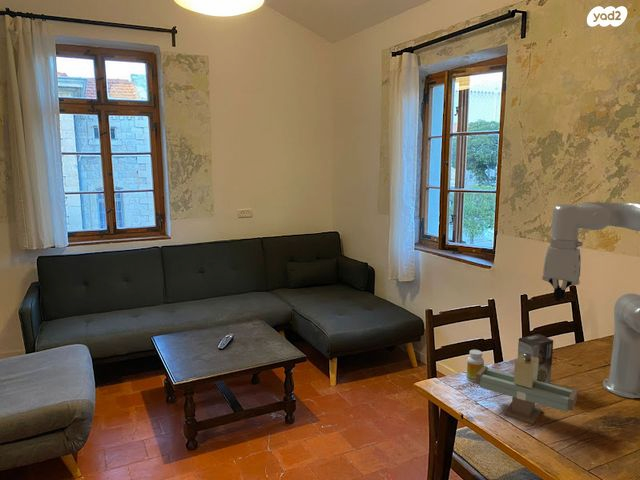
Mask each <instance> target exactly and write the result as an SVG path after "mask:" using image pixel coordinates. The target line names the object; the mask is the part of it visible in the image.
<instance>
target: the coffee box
mask: <svg viewBox="0 0 640 480" xmlns="http://www.w3.org/2000/svg"><path fill="white" fill-rule="evenodd" d="M517 346H518V347H517V358H518V357H519V356H520V354H524V353H530V354H531V356H532V357H536V358H539V362H538V375H537V381H540V382H543V383H547V384H551V378H552V377H551V376H552V365H553V353H554V351H553V349H554V339H551V338H549V337H547V336H545V335H542V334H539V333H536V334H533V335H528V336H523V337H519V338H518V345H517Z"/></svg>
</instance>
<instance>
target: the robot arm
mask: <svg viewBox="0 0 640 480" xmlns="http://www.w3.org/2000/svg"><path fill="white" fill-rule="evenodd" d="M552 210H553V211H552V219H551V220H552V222H551V231H550V232H551V233H550V234H551V235H550V245H549V246H548V247H547V249H546V253H545V257H544V263H543V269H542V270H543V271H542V278H541V279H542V281H545V282H548V283H549V284H550V285H551V286H552V287H553V298H554V299H555V302H562V301H563V299H565V297H566V289H567V288H569V287H571V286H579V285H580V283H581V282H580V276H581V259H582V258H581V249H580V248H578V247H583V244H584V242H582V241H579V231H580V229H583V230H592V231H601V230H603V229H605V228H607V227H617V228H624V229H628V230H631V231H636V232H637V231H638V232H640V202H631V203H630V202H604V201H603V202H598V201H597V202H596V201H593V202H591V201H586V202H582V203H579V204H577V205H575V204H566V203H564V204H562V203H561V204H555V206H553V209H552ZM560 281H562V283H561V286H560ZM613 317H614V330H613V331H614V333H613V343H612V351H611V361H610V368H609V377H607V378H604V379H603V381H602V382H603V383H602V385H603V387H604V389H605V390H607V391H609V392H610V393H612V394H614V395H617V396H620V397H622V398H626V399H627V398H628V399H634V398H640V294H638V293H626V294H623V295H621V296H620V297H618V299H617V300H616V302H615V304H614V307H613Z"/></svg>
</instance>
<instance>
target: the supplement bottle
mask: <svg viewBox="0 0 640 480" xmlns="http://www.w3.org/2000/svg"><path fill="white" fill-rule="evenodd" d="M466 358H467V359H466V379H467V380H468V381H470V382H473V383H476V374H477V373H478V372H479V371H480V369H481V368H482V367H483V366H485V365H484V364H485V359H484V358H483V352H482V351H481V350H479V349H471V350H469V356H468V357H466Z"/></svg>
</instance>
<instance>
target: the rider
mask: <svg viewBox="0 0 640 480" xmlns="http://www.w3.org/2000/svg"><path fill="white" fill-rule="evenodd" d="M514 362H515V363H514V374H513V375H514V384H517V385H521V386H525V387H528V388H533V386H534V384H535V383H536V381H537V375H538V362H539V358H536V357H532V356H531V354H530V353H524V354H520V356H519V357H518V356H517V358H516V360H515V361H514Z"/></svg>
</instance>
